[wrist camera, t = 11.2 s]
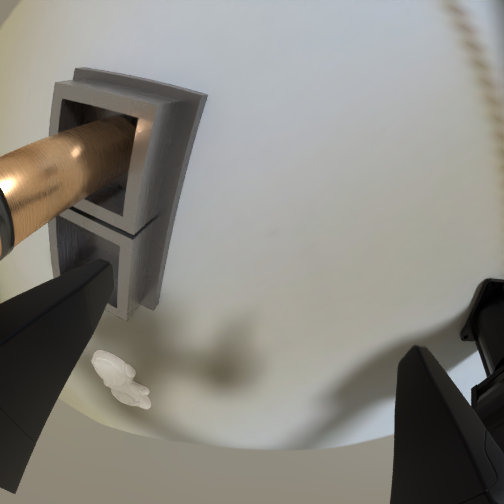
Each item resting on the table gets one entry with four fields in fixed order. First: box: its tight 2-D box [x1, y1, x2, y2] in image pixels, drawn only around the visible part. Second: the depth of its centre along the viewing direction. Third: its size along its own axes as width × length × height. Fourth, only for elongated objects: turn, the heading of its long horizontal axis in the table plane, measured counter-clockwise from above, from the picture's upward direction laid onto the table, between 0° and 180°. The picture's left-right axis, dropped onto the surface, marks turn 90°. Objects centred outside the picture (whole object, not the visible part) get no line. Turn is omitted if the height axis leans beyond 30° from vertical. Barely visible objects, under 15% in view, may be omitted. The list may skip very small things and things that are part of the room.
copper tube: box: [0, 116, 136, 260], centre depth 14 cm, size 5×5×13 cm
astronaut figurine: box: [91, 350, 152, 409], centre depth 37 cm, size 9×12×3 cm
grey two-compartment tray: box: [48, 67, 208, 321], centre depth 21 cm, size 19×11×4 cm, turn 161°
